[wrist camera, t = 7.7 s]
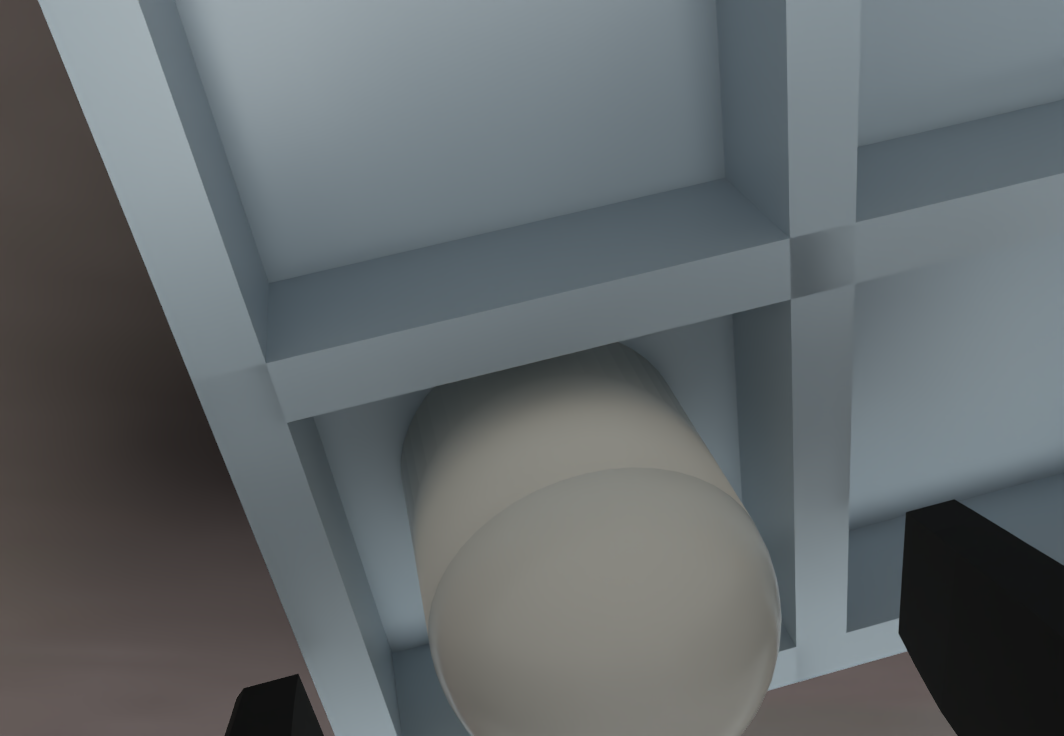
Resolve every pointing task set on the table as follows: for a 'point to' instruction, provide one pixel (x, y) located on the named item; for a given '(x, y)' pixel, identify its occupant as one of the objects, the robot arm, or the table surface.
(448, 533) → the cream egg
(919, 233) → the egg carton
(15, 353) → the table surface
